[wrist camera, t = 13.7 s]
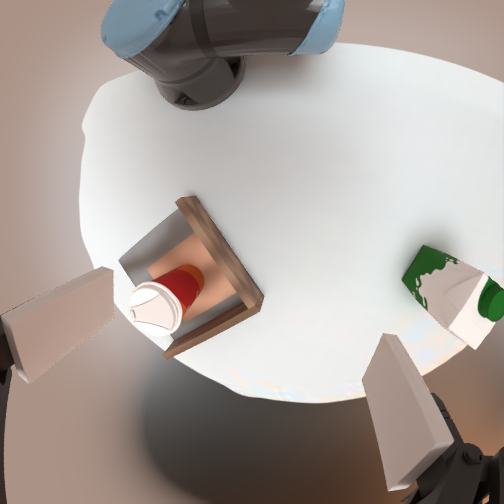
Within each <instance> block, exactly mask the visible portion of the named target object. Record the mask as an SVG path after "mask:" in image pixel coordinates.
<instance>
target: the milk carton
mask: <svg viewBox="0 0 504 504" xmlns="http://www.w3.org/2000/svg"><path fill="white" fill-rule="evenodd" d="M402 281H403V282H404V284H405V285H406V286H407V288H408V289H409V290H410V292H411V293H412V294H413V296H414V297H415V299H416V300H417V301H418V302H419V303H420V304H421V305H422V306H423V307H424V308H425V309H426V310H427V311H428V312H429V313H430V314H431V316H432V317H433V318H434V319H435V320H436V321H437V322H438V323H439V324H440V325H441V326H442V327H444V328H445V329H446V330H448V331H449V332H450V333H452V334H453V335H455V336H456V337H458V338H459V339H461V340H462V341H463V342H465V343H466V344H468V345H469V346H471V347H472V348H474V349H477V347H478V346H479V345H480V343H481V342H482V340H483V339H484V337H485V336H486V335H488V333H489V332H490V331H491V329H492V327H493V325H494V324H495V322H496V321H498V320H500V319H501V318H502V317H503V315H504V289H503V288H501V287H500V286H499V284H498V283H496V282H495V281H493V280H492V279H491V278H490V277H489V276H487V275H486V274H485V273H484V272H482V271H480V270H478V269H476V268H474V267H472V266H470V265H468V264H466V263H464V262H462V261H460V260H458V259H456V258H454V257H452V256H450V255H448V254H446V253H443V252H441V251H438V250H435V249H432V248H430V247H427V246H424V245H423V247H422V248H421V250H420V252H419V253H418V255H417V257H416V258H415V260H414V261H413V263H412V265H411V266H410V268H409V269H408V271H407V272H406V274H405V275H404V277H403V278H402Z"/></svg>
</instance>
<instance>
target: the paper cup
mask: <svg viewBox="0 0 504 504" xmlns="http://www.w3.org/2000/svg"><path fill="white" fill-rule="evenodd" d="M203 287H204V277H203V274H202V272H201V271H200V270H199V269H198V268H197V267H195V266H193V265H182V266H180V267H178V268H176V269H173V270H171V271H169V272H168V273H166V274H164V275H162V276H160V277H158V278H156V279H154V280H152V281H150V282H143V283H141V284H139V285H138V286H137V287H136V288H135V289H134V291H133V293H132V296H131V298H130V302H129V307H130V308H131V310H130V311H131V314H132V317H133V318H134V320H135V321H134V322H135V324H136V325H137V326H138V327H139V328H140V329H141V330H142V331H144V332H145V333H147V334H149V335H152V336H164V335H169V334H171V333H173V332H174V331H176V330H177V328H178V327H179V325H180V323H181V319H182V318H183V316H184V315H185V313H186V312H187V311H188V309H189V308H190V307H191V305H192V304H193V302H194V301H195V300H196V298H197V297H198V295H199V294H200V292H201V291H202V289H203Z"/></svg>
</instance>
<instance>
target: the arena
mask: <svg viewBox="0 0 504 504" xmlns="http://www.w3.org/2000/svg"><path fill="white" fill-rule="evenodd" d="M175 203H176V205H177V206H178V208H179V209H178V210H176V211H175V212H174V213H173V214H171V215H170V216H169V217H168V218H166V219H165V220H164V221H163V222H162V223H160V224H159V225H158V226H157V227H156V228H154V229H153V230H152V231H151V232H150V233H149V234H147V235H146V236H145V237H144V238H143V239H142V240H140V241H139V242H138V243H137V244H136V245H135V246H134V247H132V248H131V249H130V250H129V251H128V252H127V253H126V254H125V255H123V256H122V257H121V258H120V259H119V260H118V261H119V262H120V264H121V265H122V267H123V269H124V270H125V272H126V273H127V275H128V276H129V278H130V279H131V281H132V282H133V284H134V285H135V287H137V286H138V285H139V284H141V283H143V282H150V281H152V280H154V279H156V278H158V277H160V276H162V275H164V274H166V273H168V272H169V271H171V270H173V269H176V268H178V267H180V266H182V265H193V266H195V267H197V268H198V269H199V270H200V271H201V272H202V274H203V277H204V287H203V289H202V291H201V292H200V294H199V295H198V297H197V298H196V300H195V301H194V302H193V304H192V305H191V307H190V308H189V309H188V311H187V312H186V313H185V315H184V316H183V318H182V319H181V323H180V325H179V327H178V328H177V330H176V331H174V332H173V333H171V334H170V335H171V336H172V338H173V339H174V341H173V342H172V344H171V345H170V346H169V348H168V349H167V350H166V351H165V353H164V354H163V355H164V356H165V357H166V359H169V358H171V357H173V356H175V355H178V354H180V353H182V352H184V351H186V350H188V349H190V348H192V347H194V346H196V345H198V344H200V343H202V342H204V341H206V340H208V339H209V338H211V337H213V336H215V335H217V334H219V333H221V332H223V331H225V330H227V329H229V328H231V327H232V326H234V325H236V324H238V323H240V322H242V321H244V320H245V319H247V318H249V317H251V316H253V315H255V314H256V313H258V312H260V309H261V306H262V303H263V299H264V295H263V294H262V292H261V291H260V290H259V288H258V287H257V285H256V284H255V282H254V281H253V279H252V278H251V277H250V275H249V274H248V272H247V271H246V269H245V268H244V266H243V265H242V264H241V262H240V261H239V259H238V258H237V256H236V255H235V253H234V252H233V251H232V249H231V248H230V246H229V245H228V243H227V242H226V240H225V239H224V237H223V236H222V234H221V233H220V232H219V230H218V229H217V227H216V226H215V224H214V223H213V221H212V220H211V218H210V217H209V215H208V214H207V212H206V211H205V209H204V208H203V206H202V205H201V203H200V202H199V200H198V199H197V197H196V196H192V197H181V198H180V199H178V200H177V201H176V202H175Z"/></svg>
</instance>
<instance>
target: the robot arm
mask: <svg viewBox="0 0 504 504" xmlns="http://www.w3.org/2000/svg"><path fill="white" fill-rule="evenodd" d="M344 3H345V2H344V0H114V1H113V3H112V4H111V5H110V7H109V9H108V10H107V12H106V14H105V16H104V18H103V21H102V25H101V38H102V41H103V42H104V44H105V45H106V46H107V47H108V48H110V49H111V50H112V51H114V52H115V54H116V55H117V56H118V57H120V58H122V59H124V60H126V61H127V62H129V63H131V64H132V65H134V66H135V67H137V68H139V69H140V70H142V71H143V72H145V73H146V74H148V75H150V76H151V77H153V78H154V80H155V82H156V84H157V87H158V89H159V91H160V93H161V95H162V96H163V97H164V98H165V99H166V100H167V101H168V102H170V103H171V104H173V105H175V106H176V107H179V108H181V109H185V110H203V109H207V108H210V107H213V106H215V105H217V104H219V103H221V102H222V101H224V100H225V99H227V98H228V97H229V96H230V95H231V94H232V93H233V92H234V91H235V90H236V89H237V87H238V86H239V84H240V82H241V80H242V78H243V75H244V68H245V65H244V59H243V56H244V55H265V54H287V55H288V56H294V55H296V54H322V53H324V52H326V51H328V50H329V49H330V48H331V47H332V46H333V44H334V42H335V41H336V38H337V36H338V33H339V30H340V26H341V22H342V18H343V12H344ZM113 318H114V299H113V270H111V269H108V268H105V267H100V268H98V269H95V270H93V271H91V272H89V273H87V274H84V275H82V276H80V277H78V278H76V279H73V280H71V281H69V282H67V283H65V284H63V285H61V286H59V287H56V288H54V289H52V290H50V291H48V292H46V293H44V294H42V295H40V296H38V297H36V298H33V299H31V300H29V301H27V302H26V303H23V304H21V305H20V306H17V307H15V308H13V309H12V310H10V311H8V312H6V313H4V314H2V315H0V504H7V500H6V492H5V481H4V431H5V418H6V409H7V400H8V394H9V388H10V382H11V377H12V370H11V366H12V365H13V364H15V366H16V369H17V372H18V374H19V376H20V377H22V378H23V379H24V380H25V381H26V382H27V383H29V384H30V383H32V382H33V381H34V380H35V379H36V378H38V377H39V376H40V375H41V374H43V373H44V372H45V371H46V370H48V369H49V368H50V367H51V366H53V365H54V364H55V363H56V362H58V361H59V360H60V359H62V358H63V357H64V356H65V355H67V354H68V353H69V352H70V351H72V350H73V349H74V348H75V347H77V346H78V345H79V344H81V343H82V342H83V341H85V340H86V339H87V338H89V337H90V336H91V335H92V334H94V333H95V332H96V331H98V330H99V329H100V328H101V327H103V326H104V325H106V324H107V323H108V322H109V321H111V320H112V319H113ZM362 382H363V386H364V389H365V393H366V397H367V400H368V404H369V407H370V411H371V415H372V419H373V423H374V427H375V431H376V436H377V440H378V444H379V449H380V453H381V458H382V462H383V467H384V472H385V477H386V483H387V488H388V491H392V490H399V489H405V488H407V487H408V486H410V485H411V484H412V483H413V482H414V481H415V480H417V484H418V487H417V488H415V489H414V490H413V491H412V492H410V493H409V494H408V495H407V496H405V497H404V498H403V499H402V500H401V502H404V501H405V500H406V499H408V500H407V502H406V503H405V504H482V501H483V499H484V498H486V497H487V496H488V495H489V501H488V502H487V503H486V504H504V447H503V448H501V449H500V450H499V451H498V452H497V453H496V454H495V456H484V455H483V453H482V451H481V450H480V449H479V448H478V447H477V446H475V445H474V444H470V443H464V442H463V440H462V438H461V436H460V434H459V432H458V430H457V428H456V426H455V424H454V422H453V420H452V419H450V415H449V413H448V411H447V409H446V407H445V405H444V403H443V402H442V401H441V400H440V398H439V397H438V396H437V395H435V393H430V391H429V389H428V388H427V386H426V384H425V382H424V380H423V379H422V377H421V375H420V373H419V372H418V370H417V368H416V366H415V365H414V363H413V361H412V359H411V358H410V356H409V354H408V353H407V351H406V349H405V348H404V346H403V344H402V343H401V341H400V340H399V338H398V336H397V335H391V334H385V333H383V335H382V337H381V339H380V342H379V344H378V346H377V348H376V351H375V353H374V355H373V357H372V360H371V362H370V364H369V366H368V368H367V370H366V372H365V374H364V376H363V378H362Z"/></svg>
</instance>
